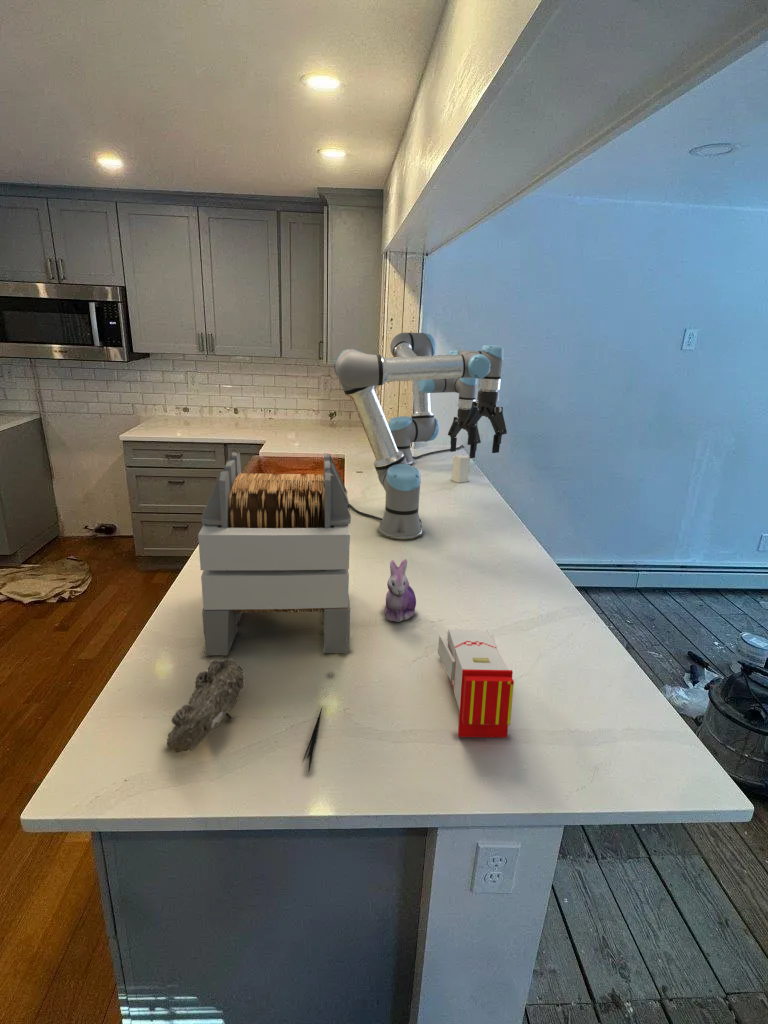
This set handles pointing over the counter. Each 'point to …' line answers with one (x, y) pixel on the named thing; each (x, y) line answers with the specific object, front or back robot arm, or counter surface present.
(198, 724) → the fossil
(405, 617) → the figurine
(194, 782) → the counter surface
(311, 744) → the feather
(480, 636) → the toy
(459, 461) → the block
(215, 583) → the record crate
